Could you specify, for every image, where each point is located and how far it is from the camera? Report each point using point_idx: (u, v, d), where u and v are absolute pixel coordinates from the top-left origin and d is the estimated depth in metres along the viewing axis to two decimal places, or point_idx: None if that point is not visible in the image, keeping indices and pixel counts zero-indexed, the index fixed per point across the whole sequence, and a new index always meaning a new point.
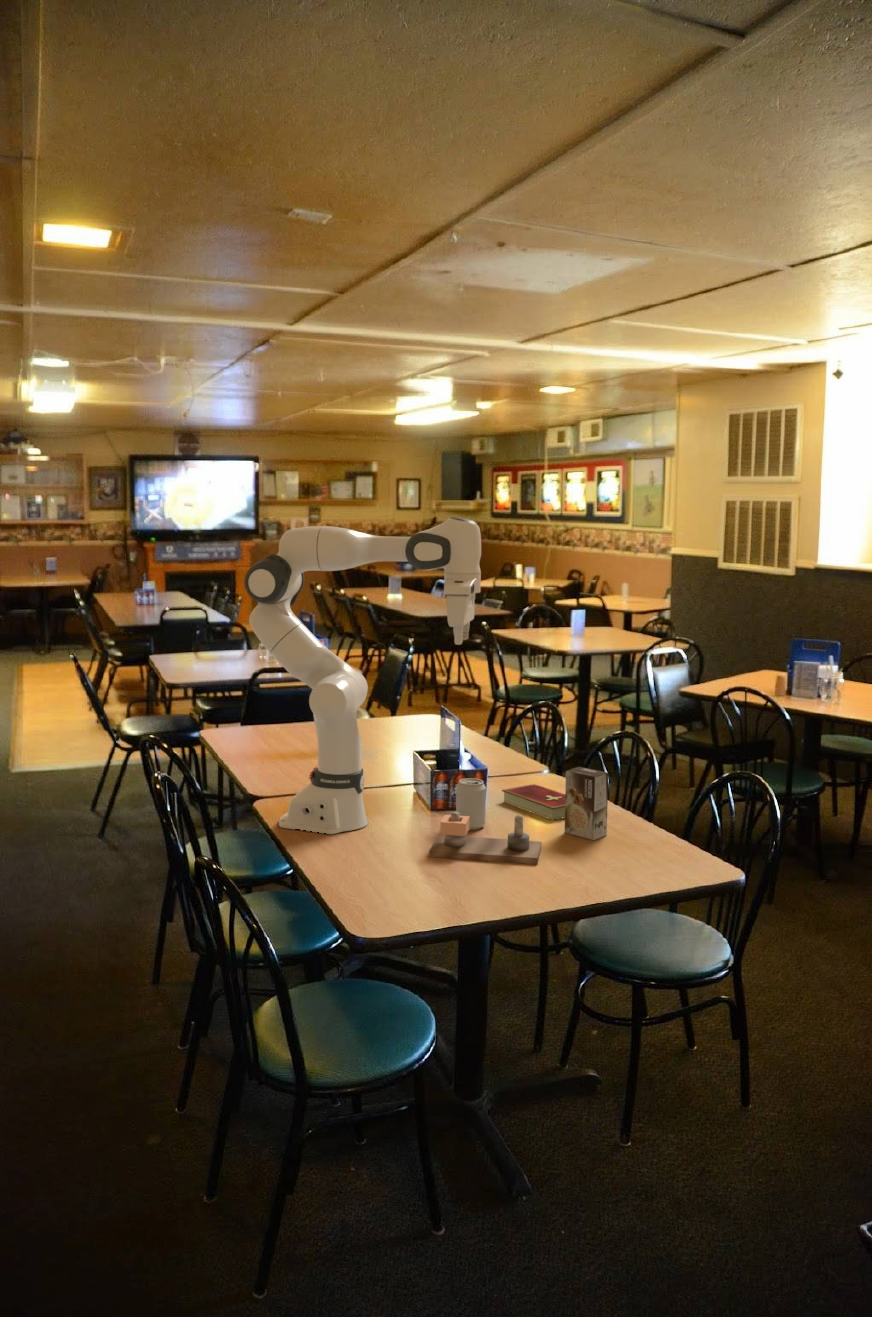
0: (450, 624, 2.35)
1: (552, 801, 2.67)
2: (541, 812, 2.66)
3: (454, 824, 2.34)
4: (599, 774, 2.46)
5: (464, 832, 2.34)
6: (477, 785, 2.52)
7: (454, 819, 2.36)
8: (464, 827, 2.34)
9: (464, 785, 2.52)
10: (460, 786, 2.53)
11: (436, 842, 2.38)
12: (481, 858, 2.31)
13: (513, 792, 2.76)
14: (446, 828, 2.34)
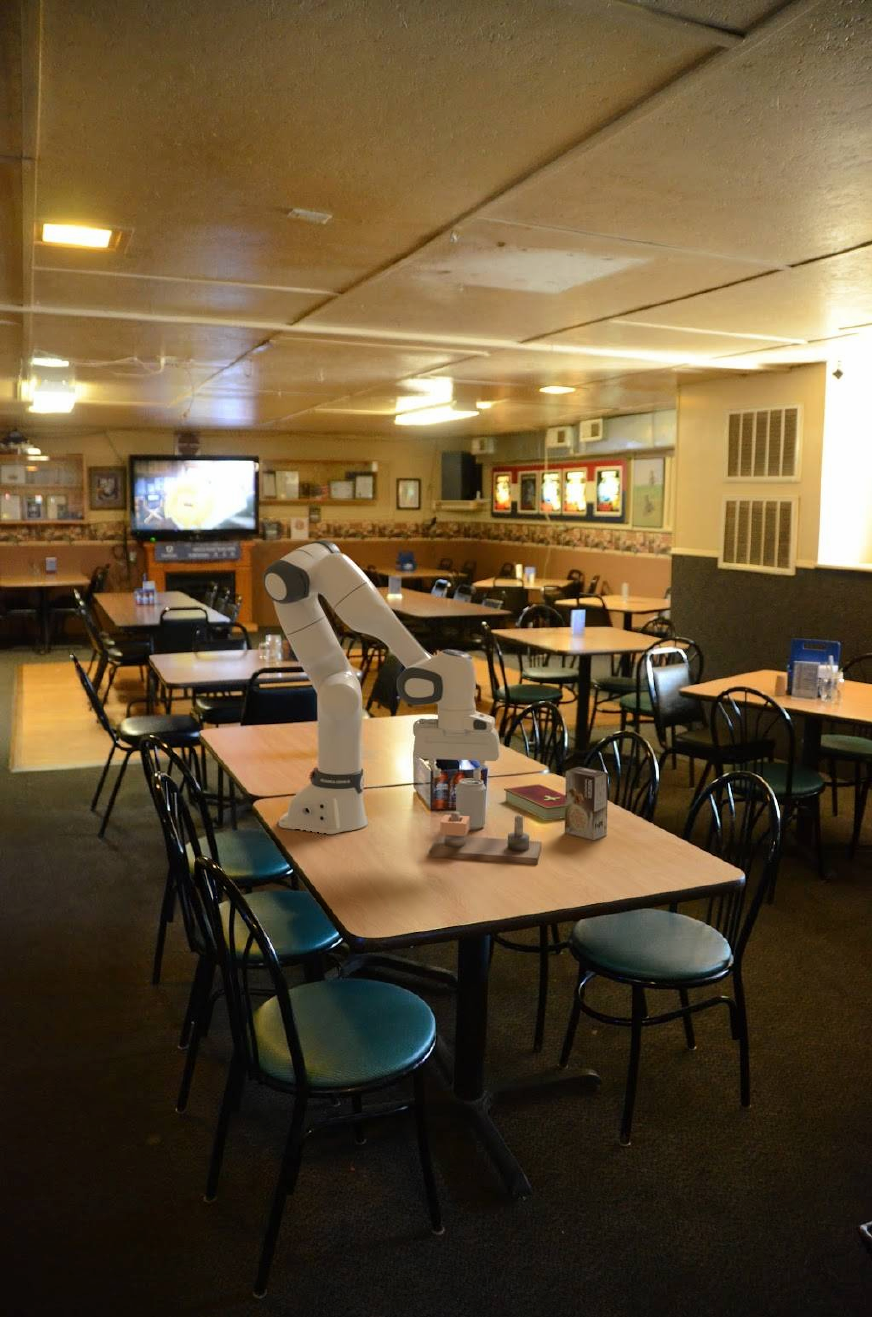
0: (497, 758, 2.32)
1: (549, 801, 2.67)
2: (537, 812, 2.66)
3: (454, 824, 2.34)
4: (599, 774, 2.46)
5: (464, 832, 2.34)
6: (477, 785, 2.52)
7: (454, 819, 2.36)
8: (464, 827, 2.34)
9: (464, 785, 2.52)
10: (460, 786, 2.53)
11: (436, 842, 2.38)
12: (481, 858, 2.31)
13: (514, 791, 2.77)
14: (446, 828, 2.34)
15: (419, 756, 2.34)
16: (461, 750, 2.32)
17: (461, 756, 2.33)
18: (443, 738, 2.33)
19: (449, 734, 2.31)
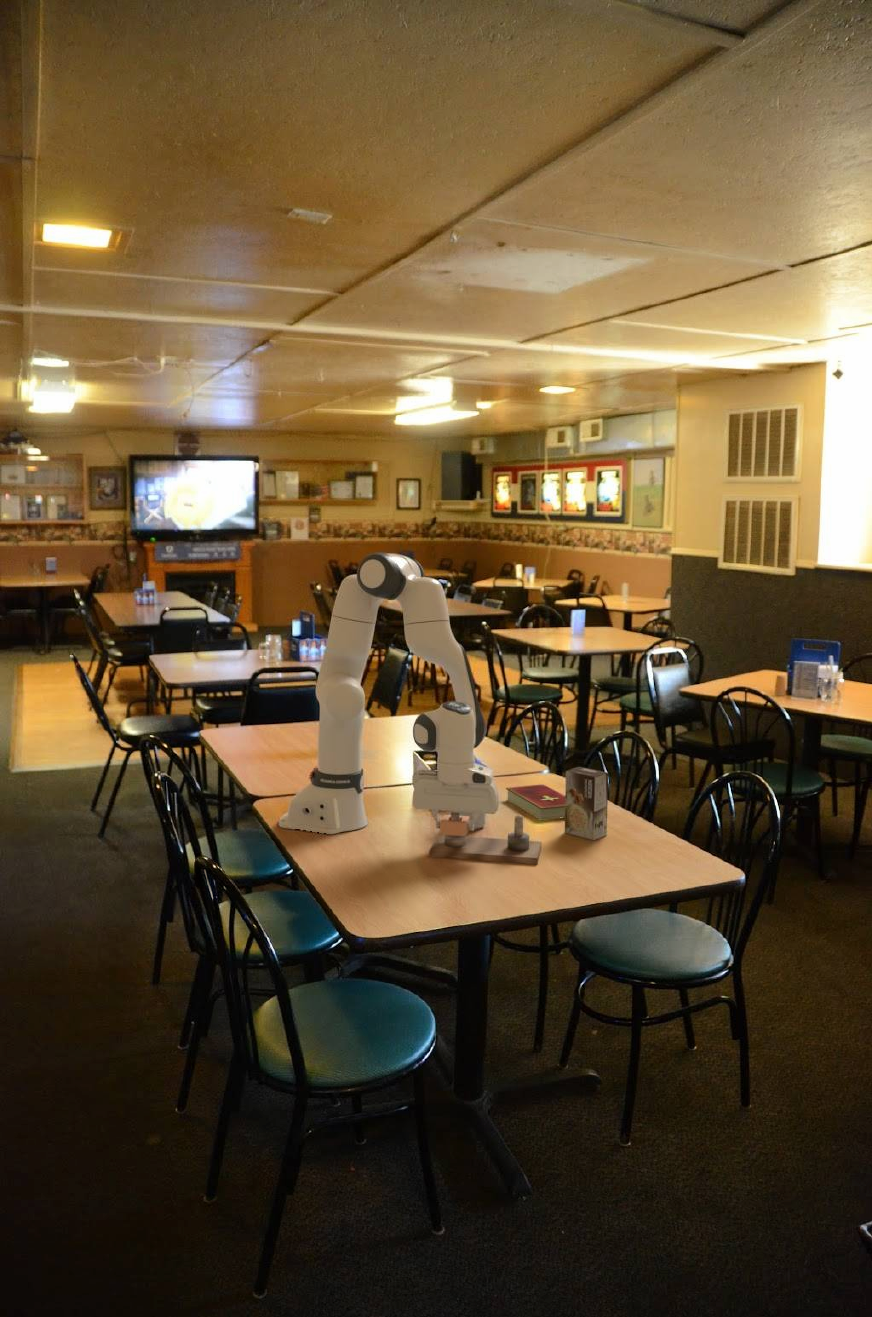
0: None
1: (546, 801, 2.67)
2: (533, 811, 2.66)
3: (454, 824, 2.34)
4: (599, 774, 2.46)
5: (464, 832, 2.34)
6: None
7: (454, 819, 2.36)
8: (464, 827, 2.34)
9: None
10: None
11: (436, 842, 2.38)
12: (481, 858, 2.31)
13: (515, 790, 2.77)
14: (446, 828, 2.34)
15: (418, 807, 2.36)
16: (459, 802, 2.34)
17: (460, 808, 2.34)
18: (442, 790, 2.35)
19: (448, 786, 2.33)
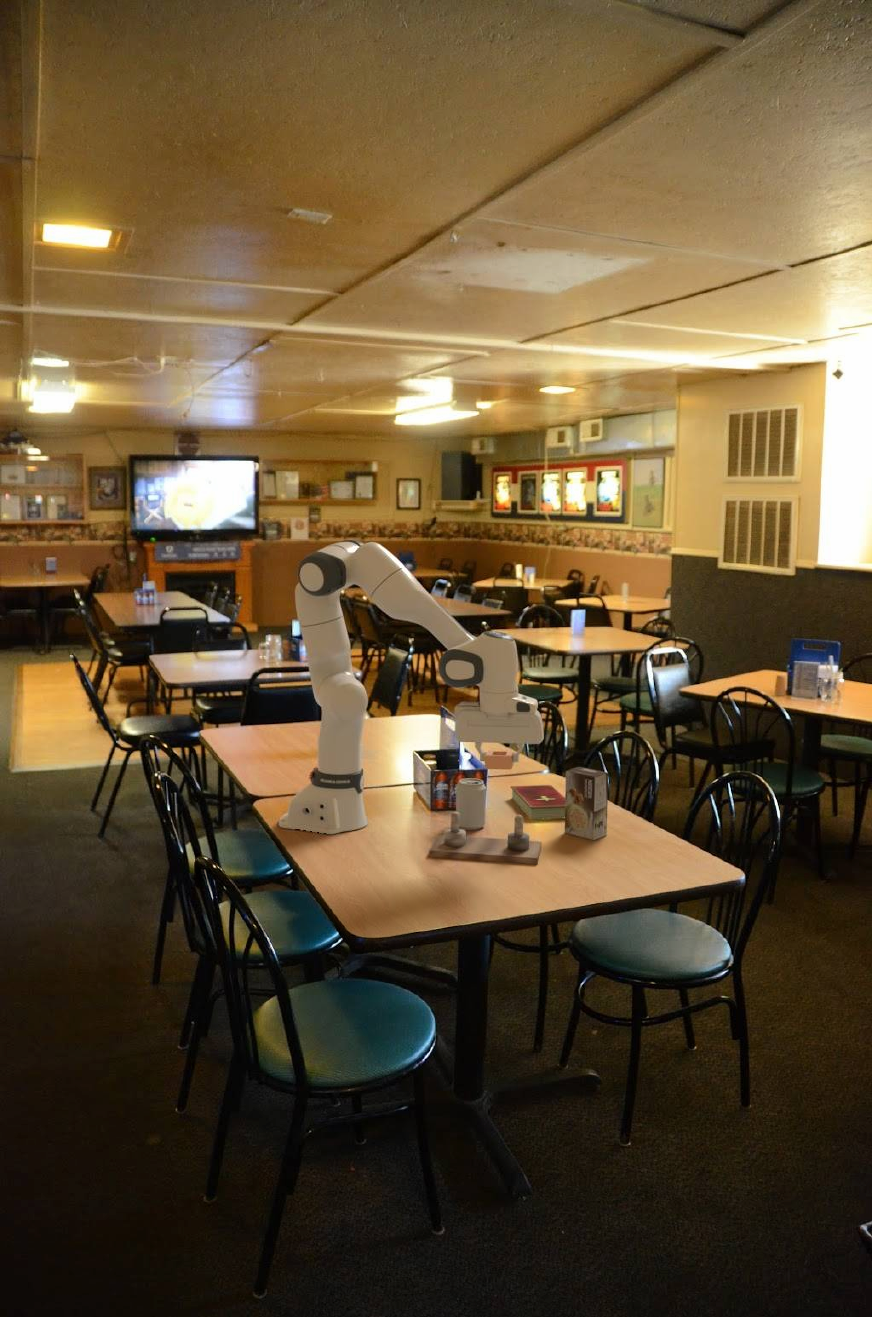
0: (541, 741, 2.28)
1: (540, 801, 2.67)
2: (526, 810, 2.67)
3: (499, 758, 2.29)
4: (599, 774, 2.46)
5: (509, 765, 2.29)
6: (477, 785, 2.52)
7: (454, 819, 2.36)
8: (509, 760, 2.29)
9: (464, 785, 2.52)
10: (460, 786, 2.53)
11: (436, 842, 2.38)
12: (481, 858, 2.31)
13: (517, 789, 2.79)
14: (491, 762, 2.30)
15: (461, 740, 2.31)
16: (503, 733, 2.29)
17: (504, 739, 2.29)
18: (485, 721, 2.30)
19: (492, 717, 2.28)
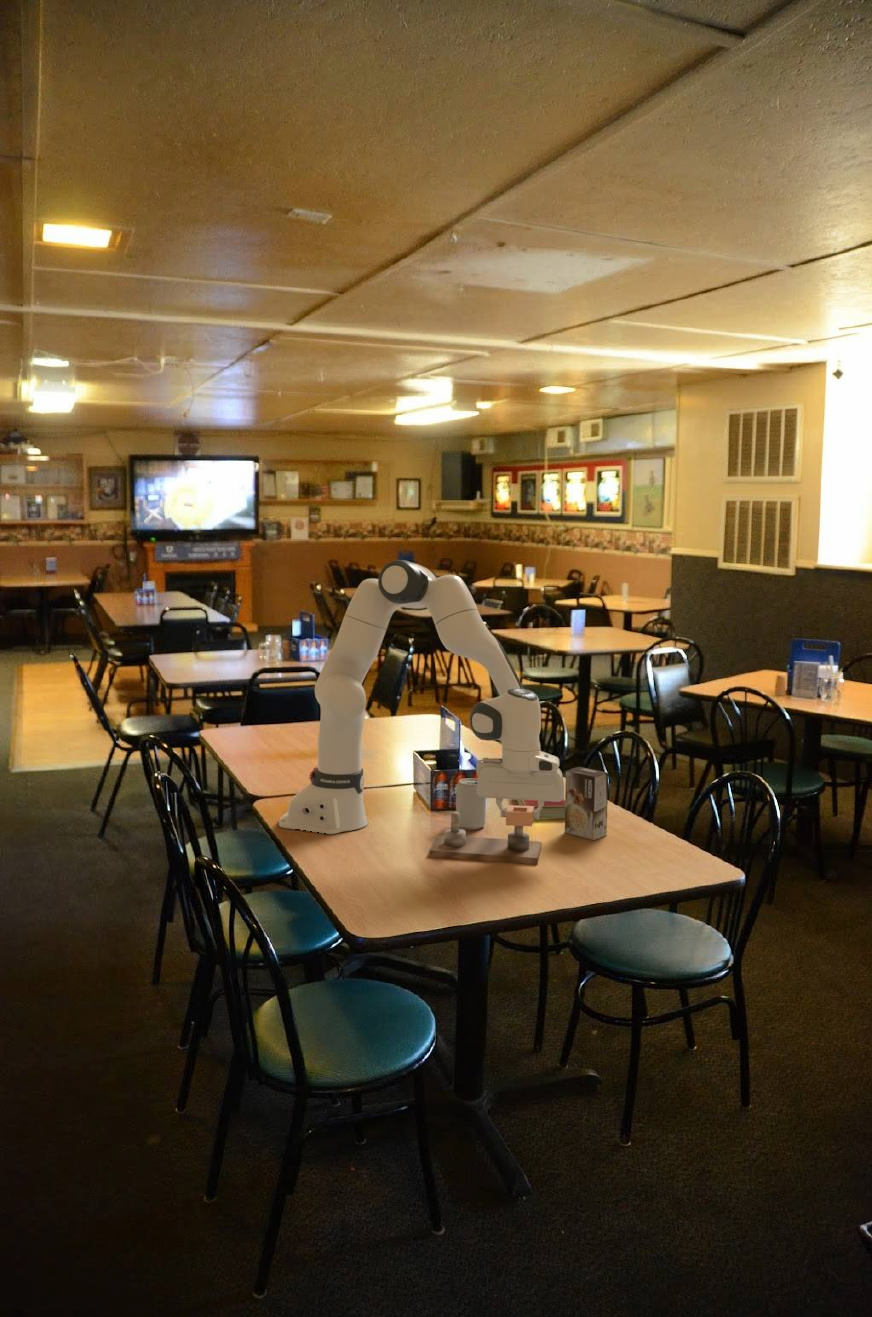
0: None
1: (537, 801, 2.67)
2: None
3: (520, 815, 2.31)
4: (599, 774, 2.46)
5: (530, 822, 2.31)
6: None
7: (454, 819, 2.36)
8: (530, 817, 2.31)
9: (464, 785, 2.52)
10: (460, 786, 2.53)
11: (436, 842, 2.38)
12: (481, 858, 2.31)
13: None
14: (512, 819, 2.32)
15: (482, 795, 2.33)
16: (525, 790, 2.31)
17: (525, 796, 2.31)
18: (507, 778, 2.32)
19: (514, 774, 2.30)
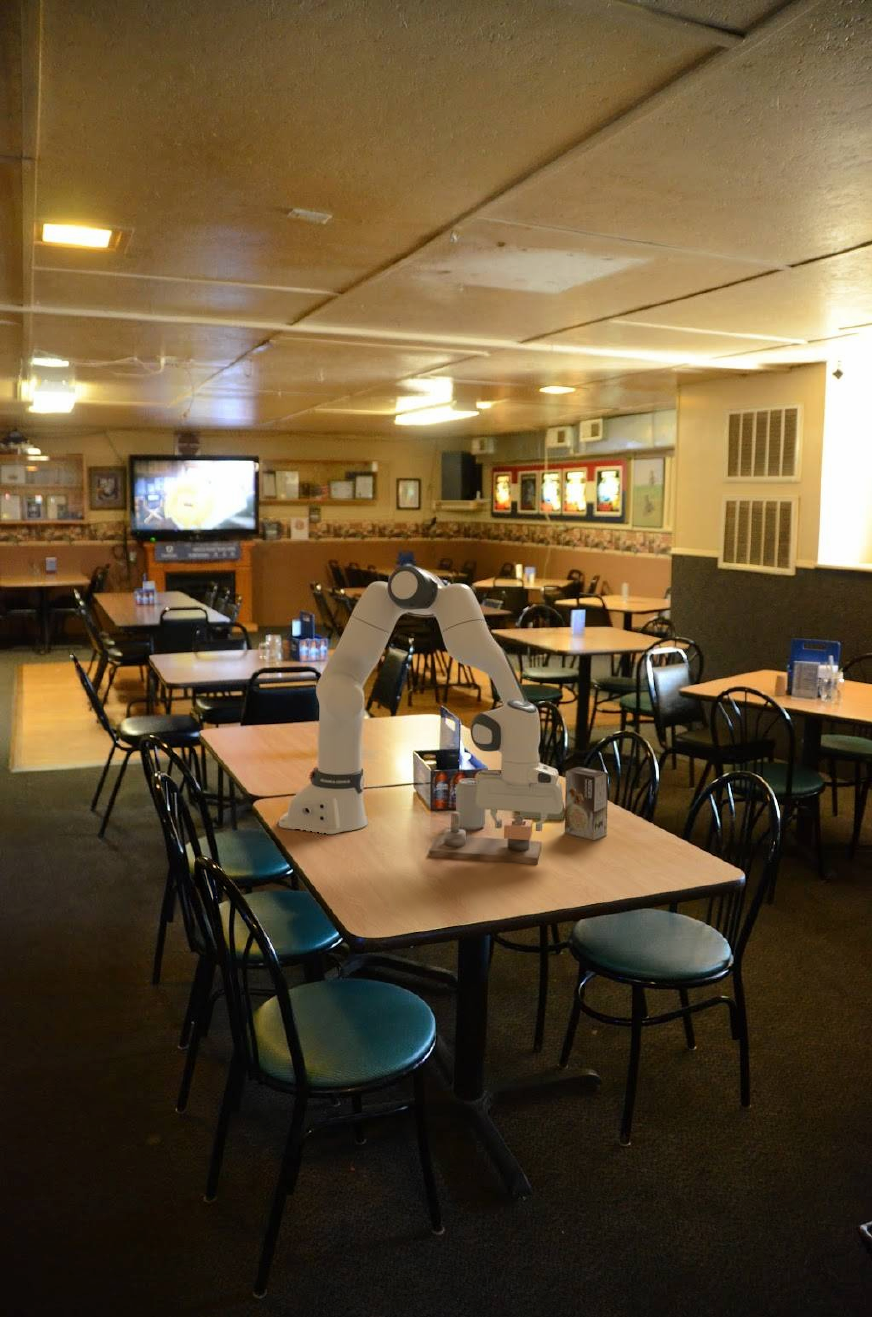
0: None
1: None
2: None
3: (518, 828, 2.32)
4: (599, 774, 2.46)
5: (528, 836, 2.31)
6: None
7: (454, 819, 2.36)
8: (528, 831, 2.31)
9: (464, 785, 2.52)
10: (460, 786, 2.53)
11: (436, 842, 2.38)
12: (481, 858, 2.31)
13: None
14: (510, 832, 2.32)
15: (481, 807, 2.33)
16: (524, 802, 2.31)
17: (524, 808, 2.32)
18: (506, 790, 2.32)
19: (513, 786, 2.30)
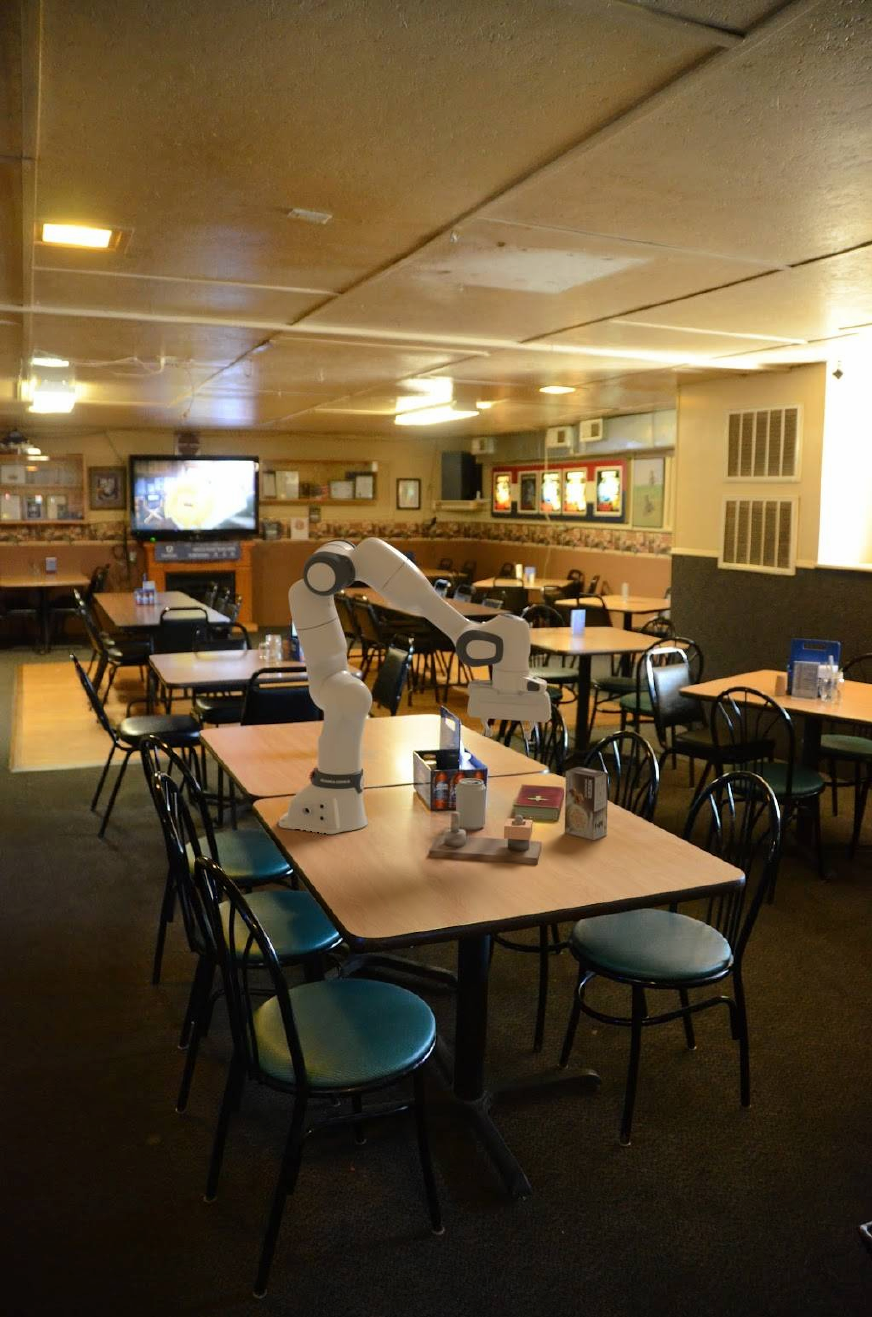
0: (548, 720, 2.41)
1: (530, 800, 2.68)
2: None
3: (518, 828, 2.32)
4: (599, 774, 2.46)
5: (528, 836, 2.31)
6: (477, 785, 2.52)
7: (454, 819, 2.36)
8: (528, 831, 2.31)
9: (464, 785, 2.52)
10: (460, 786, 2.53)
11: (436, 842, 2.38)
12: (481, 858, 2.31)
13: (524, 787, 2.80)
14: (510, 832, 2.32)
15: (473, 715, 2.44)
16: (513, 711, 2.42)
17: (513, 716, 2.42)
18: (497, 698, 2.43)
19: (503, 694, 2.41)
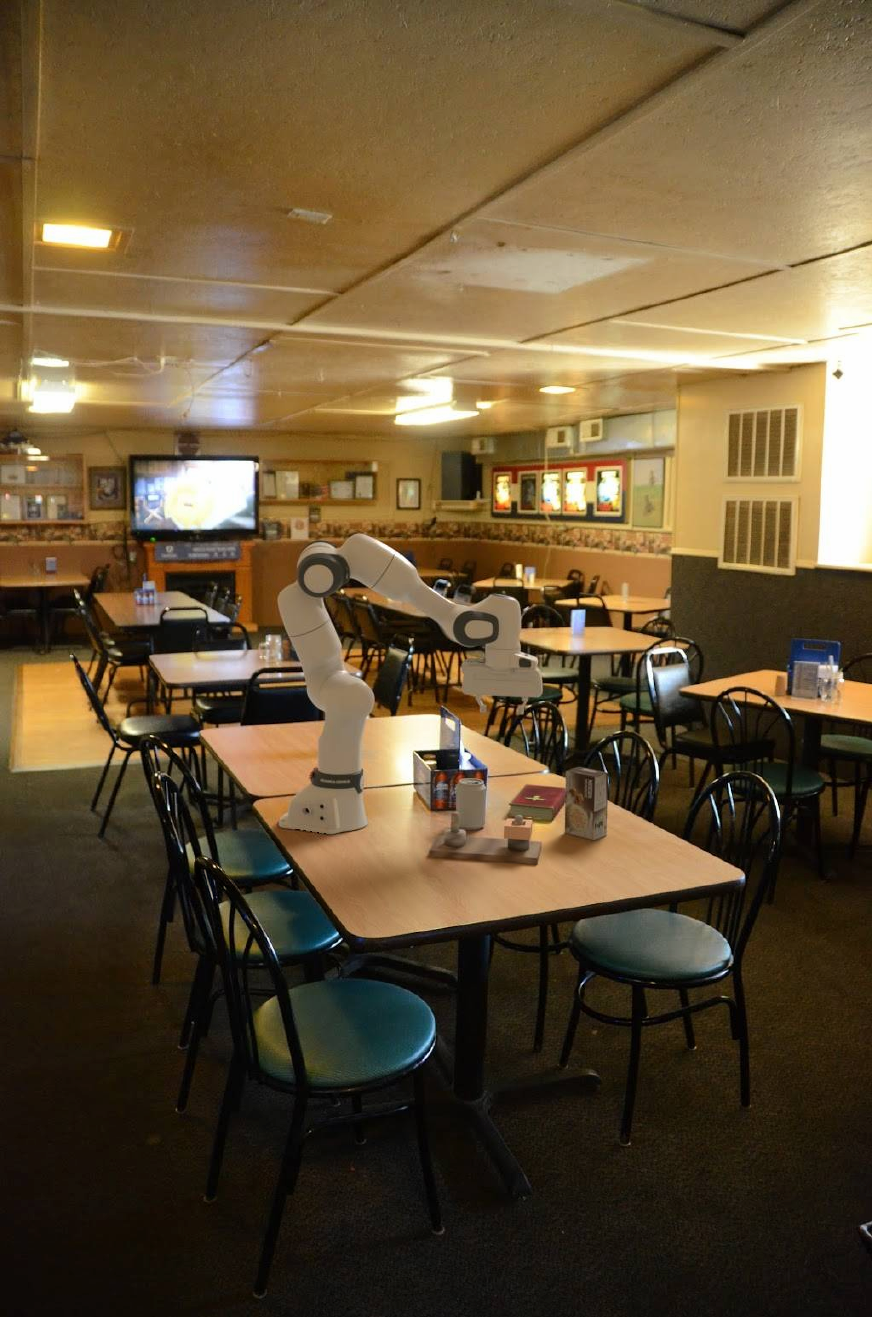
0: (540, 695, 2.50)
1: (527, 800, 2.68)
2: None
3: (518, 828, 2.32)
4: (599, 774, 2.46)
5: (528, 836, 2.31)
6: (477, 785, 2.52)
7: (454, 819, 2.36)
8: (528, 831, 2.31)
9: (464, 785, 2.52)
10: (460, 786, 2.53)
11: (436, 842, 2.38)
12: (481, 858, 2.31)
13: (526, 787, 2.81)
14: (510, 832, 2.32)
15: (467, 692, 2.53)
16: (506, 687, 2.51)
17: (506, 692, 2.51)
18: (490, 675, 2.52)
19: (496, 671, 2.50)
